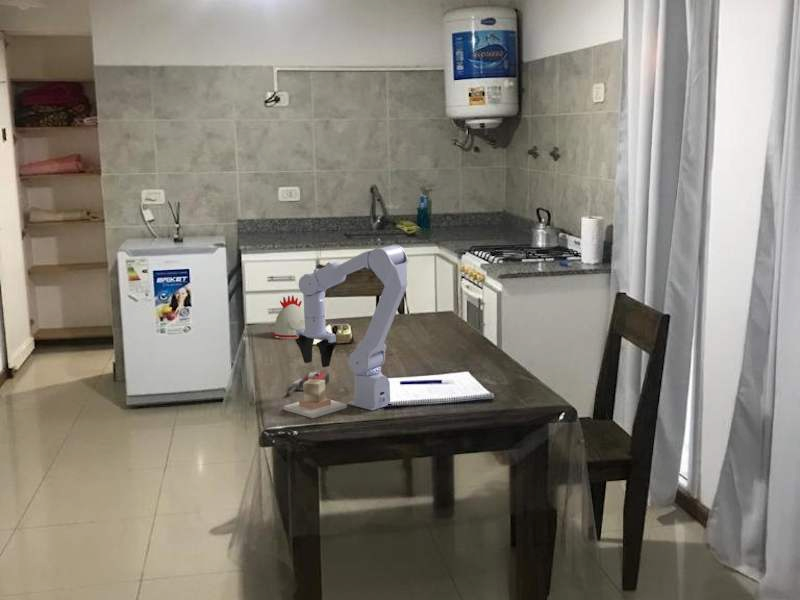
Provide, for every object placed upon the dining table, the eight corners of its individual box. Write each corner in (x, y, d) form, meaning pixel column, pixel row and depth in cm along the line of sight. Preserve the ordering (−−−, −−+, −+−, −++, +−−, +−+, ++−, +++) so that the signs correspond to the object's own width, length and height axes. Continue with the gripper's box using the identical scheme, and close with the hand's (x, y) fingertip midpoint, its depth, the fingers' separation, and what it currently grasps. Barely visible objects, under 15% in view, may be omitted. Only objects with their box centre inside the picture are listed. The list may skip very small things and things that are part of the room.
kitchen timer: (269, 334, 347) (267, 294, 344) (304, 330, 352) (302, 291, 350) (280, 341, 334) (278, 300, 332) (316, 336, 340) (314, 296, 337)
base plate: (347, 407, 249) (346, 398, 248) (312, 418, 240) (312, 408, 240) (317, 399, 257) (317, 391, 257) (283, 409, 249) (283, 400, 248)
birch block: (325, 398, 250) (324, 379, 249) (319, 402, 246) (318, 384, 245) (310, 397, 251) (309, 379, 250) (304, 401, 247) (303, 383, 246)
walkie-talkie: (302, 380, 280) (285, 398, 261) (301, 366, 279) (284, 383, 260) (331, 380, 279) (315, 399, 259) (330, 366, 278) (315, 383, 259)
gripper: (343, 317, 254) (345, 365, 256) (308, 311, 264) (310, 357, 266) (323, 321, 249) (325, 370, 251) (289, 315, 259) (291, 362, 261)
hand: (316, 364), depth 258 cm, fingers open, 7 cm apart
